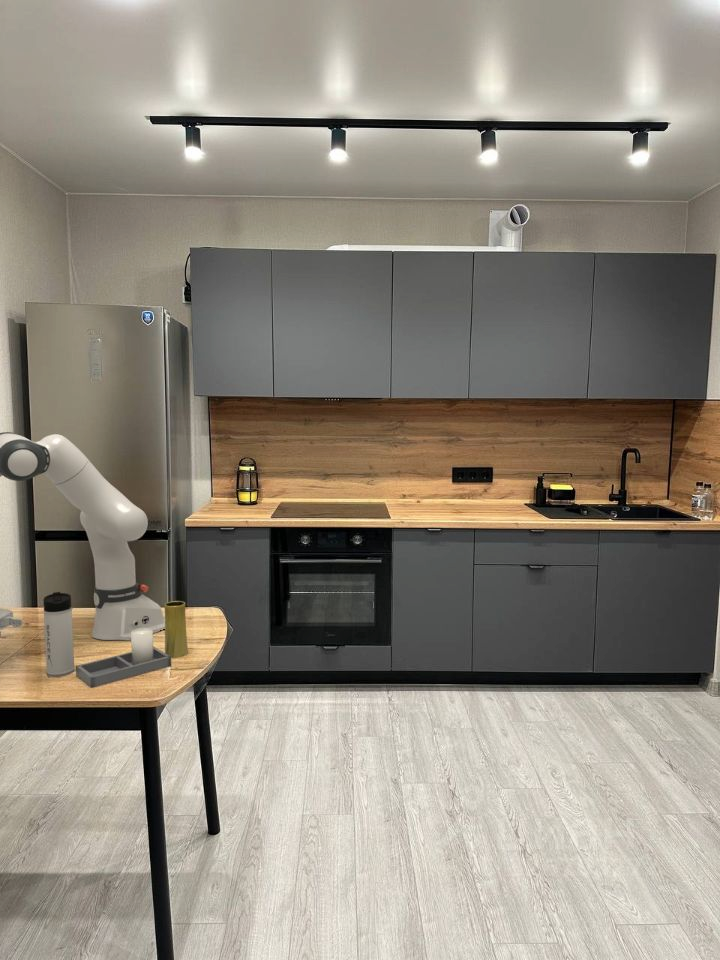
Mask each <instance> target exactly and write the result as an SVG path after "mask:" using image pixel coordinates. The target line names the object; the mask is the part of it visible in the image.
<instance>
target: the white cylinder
mask: <svg viewBox="0 0 720 960" xmlns="http://www.w3.org/2000/svg"><path fill="white" fill-rule="evenodd" d="M130 641H131V652H132V665H137V664H140V663H144V662H148V661H152V660H154V656H153V646H154V633H153V630H152V629H151V628H138V629H135V630H132V631H131V640H130Z"/></svg>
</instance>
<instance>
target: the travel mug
mask: <svg viewBox="0 0 720 960" xmlns="http://www.w3.org/2000/svg"><path fill="white" fill-rule="evenodd" d="M42 601H43V620H44V624H43V626H44V641H45V664H46V677H47V678H50V679H51V678H60V677H65V676H66V677H67V676H69V675H70V674H72V673H74V672H75V651H74V650H75V649H74V631H73V627H74V625H73V610H72V608H73V607H72V595H70V593H65V592H64V593H63V592H61V591H56V592H55V591H54V592H52V594H48V595H46V596H44V597H43V600H42Z"/></svg>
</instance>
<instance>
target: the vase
mask: <svg viewBox="0 0 720 960" xmlns="http://www.w3.org/2000/svg"><path fill="white" fill-rule="evenodd" d="M164 617H165V630H164V653H166V654H167V655H169V656H171V659H178V658H183V657H186V656H187V655H189V650H188V633H187V623H186V622H187V620H186V619H187V618H186V602H185V601H181V600H173V601H171V600H170V601H168V602H166V603H164Z"/></svg>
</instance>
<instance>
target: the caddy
mask: <svg viewBox="0 0 720 960" xmlns="http://www.w3.org/2000/svg"><path fill="white" fill-rule="evenodd" d="M153 656H154V660H152V661H148V662H144V663H140V664H137V665H132V651H130V652H126V653H121V654H117V655H113V656H110V657H105V658H101V659H98V660H94V661H90V662H86V663H82V664H77V665H75V674H76V675H75V676H76V677H77V678H79V680H81V681H82V682H84V683H85V684H86V685H87V686H89V687H90V688H91V689H92V688H97V687H100V686H101V687H102V686H104V685H107V684H108V685H109V684H110V683H114V682H117V681H118V682H119V681H123V680H126V679H129V678H130V679H131V678H133V677H137V676H141V675H143V674H146V673H147V674H148V673H151V672H155V671H158V670H162V669H166V668H170V667H172V658H171V656H169V655H167V654H166V653H165V651H162V650H160V649H158V648H157V647H156V646H154V645H153Z"/></svg>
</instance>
